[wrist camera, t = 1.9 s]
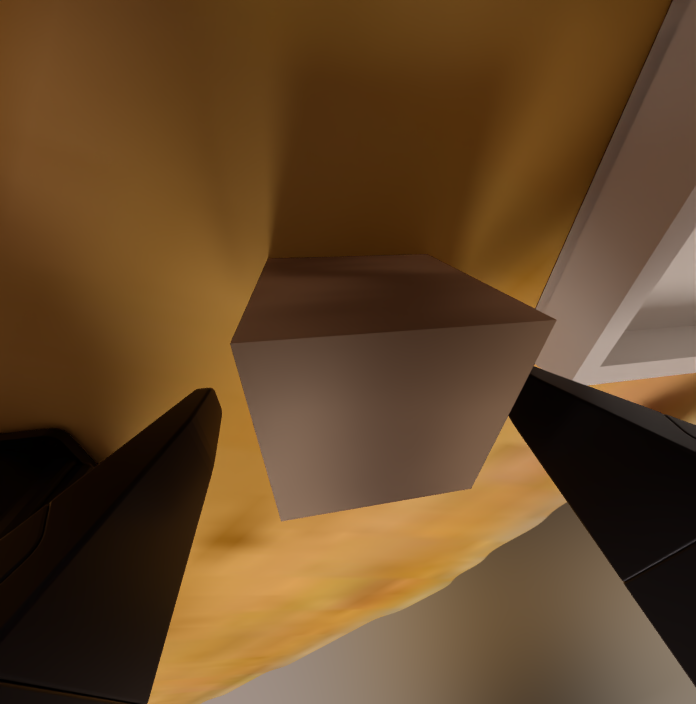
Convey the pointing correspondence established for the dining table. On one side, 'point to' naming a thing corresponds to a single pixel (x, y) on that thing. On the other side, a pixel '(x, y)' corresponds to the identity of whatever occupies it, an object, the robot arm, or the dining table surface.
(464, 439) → the block
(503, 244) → the dining table surface
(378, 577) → the dining table surface
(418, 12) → the dining table surface
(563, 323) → the tray
